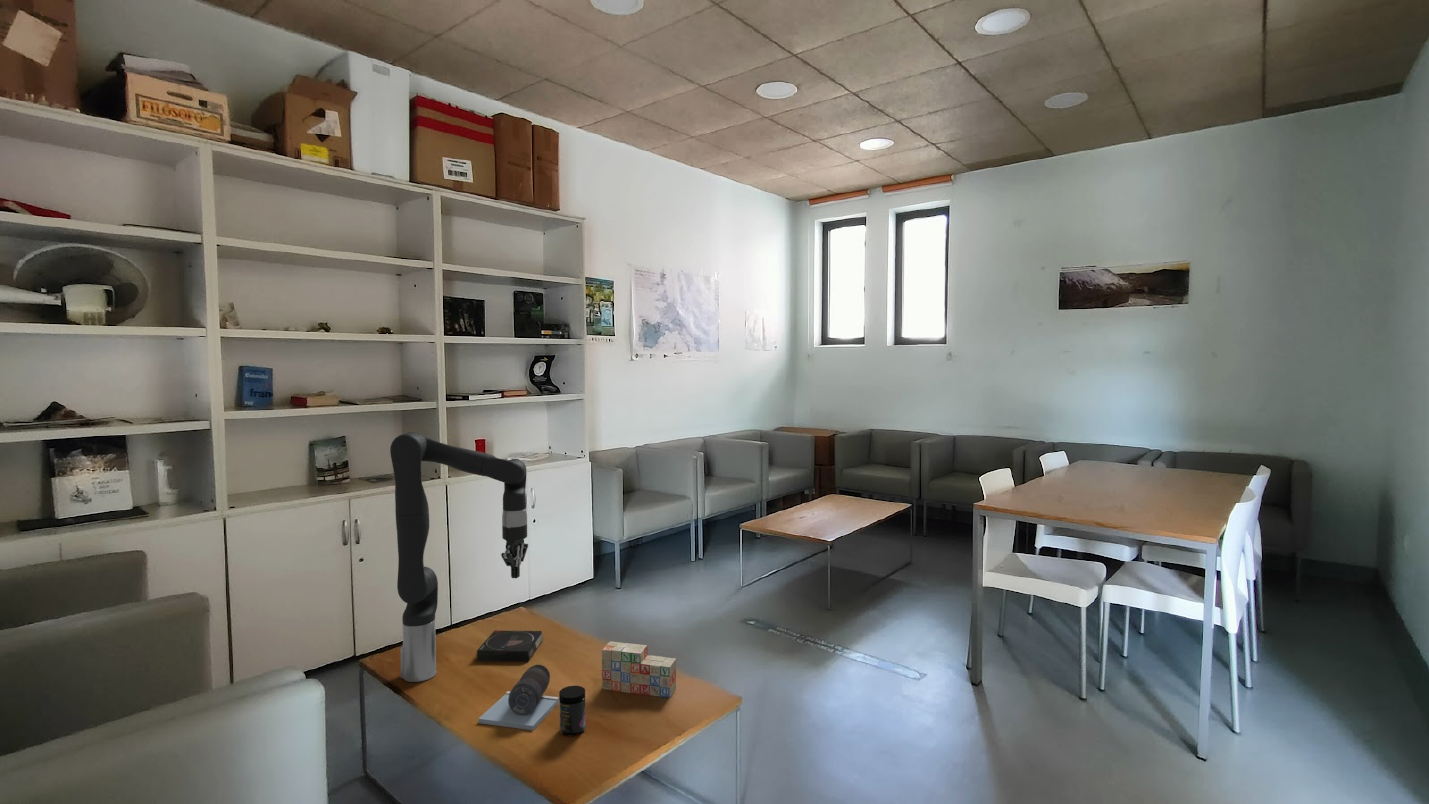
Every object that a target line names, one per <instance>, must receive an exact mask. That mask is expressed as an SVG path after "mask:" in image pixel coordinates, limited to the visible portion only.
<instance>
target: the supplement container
mask: <svg viewBox="0 0 1429 804" xmlns="http://www.w3.org/2000/svg"><path fill="white" fill-rule="evenodd" d="M558 695H559V696H558V697H559V703H558V704H559V706H558V707H559V732H560V733H561V734H562V735H563V736H567V737H574V736H578V735H580V734H582V733H583V732H584V731H585V729H586V688H585V687H583V686H581V685H569V686H565V687H563V688H561V689H560V690H559V693H558Z"/></svg>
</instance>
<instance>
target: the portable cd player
mask: <svg viewBox="0 0 1429 804" xmlns="http://www.w3.org/2000/svg"><path fill="white" fill-rule="evenodd" d="M543 640H544V635H543V632H542V630H493V631H492V633H491V634H490V635H489V636H488V637H487V638H486V639H485V640H484V642H483V643H482V644H481V646H479V648H478V649H477V650H476V661H477V662H506V663H507V662H508V663H509V662H511V663H512V662H516V663H517V662H519V663H521V662H522V663H523V662H525V663H528V662H530V661H531V660H530V659H532V657H533V655H534V654H535V652H536V651H537V650H538V648H539V647H540V645H541V644H542V642H543Z"/></svg>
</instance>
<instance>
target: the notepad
mask: <svg viewBox="0 0 1429 804" xmlns="http://www.w3.org/2000/svg"><path fill="white" fill-rule="evenodd" d="M510 692H511V691H509V690H507V691H506V692H505V694H504V695H503V696H502V697H500V698H499V700H497V701H496V702H495V703H494V704H493V705H492V706H491V707H489V708H488V710H486V711H485V712H484V713H483V714H482V715H481V716H479V718H478V724H483V725H491V726H499V727H506V728H514V729H520V730H526V731H527V730H529V731H534V730H535V729H536V728H537V727H538V726H539V725H540V724H541V722H543V720H544V719H545V718H546V717H547V716H548V715H549V714H550V713H551V712H552V711H553V709H554V708H555V707H556V706H557V705H558V704H559V696H551V695H550V696H549V695H544V694H543V695H542V696H541V699H540V701H539V703H538V704H537V706H536V708H535V709H534V710H533V711H531V712H530V713H528V714H525V715H521V714H517V713H515V712H513V711H512V709H511V708H510V706H509V703H508V698H509V694H510Z"/></svg>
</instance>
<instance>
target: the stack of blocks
mask: <svg viewBox="0 0 1429 804" xmlns="http://www.w3.org/2000/svg"><path fill="white" fill-rule="evenodd" d="M601 669H602V670H601V678H602V679H601V685H602V686H601V687H602V689H603V690H608V691H614V692H621V693H628V694H638V695H646V696H653V697H661V698H667V699H668V698H671V697H672V694H673V693H674V692H675V691H676V690H677V689H676V688H677V671H676V670H677V658H676V657H675V658H674V657H665V656H660V655H648V645H647V644H639V643H638V644H637V643H626V642H618V641H609V642H607V644H606V645H605V646H604V647H603V648H602V649H601Z"/></svg>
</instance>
